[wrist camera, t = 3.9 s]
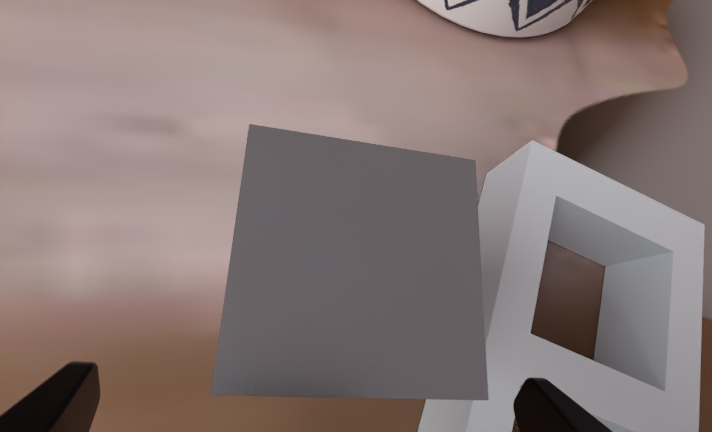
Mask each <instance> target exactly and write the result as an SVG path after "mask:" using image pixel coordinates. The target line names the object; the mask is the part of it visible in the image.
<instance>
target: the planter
mask: <svg viewBox="0 0 712 432" xmlns="http://www.w3.org/2000/svg"><path fill="white" fill-rule="evenodd" d="M417 1H418V2H419V3H421V4H422V5H424V6H425V7H427V8H429V9H430V10H432V11H433V12H435V13H436V14H438V15H440V16H442V17H444V18H446V19H448V20H450V21H452V22H454V23H456V24H458V25H460V26H463V27H466V28H469V29H472V30H475V31H478V32H481V33H486V34H491V35H496V36H501V37H519V38H521V37H530V36H539V35H542V34H546V33H549V32H552V31H555V30H557V29H559V28H561V27H562V26H564V25H566V24H568V23H569V22H570V21H571V20H573V19H574V18H575V17H576V16H577V15H578V14H579V13H580V12H581V11H582V10H583V9H584V8H585V7H586V6H587V5H588V4H589V3H590V2H591V1H592V0H417Z"/></svg>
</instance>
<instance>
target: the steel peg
mask: <svg viewBox="0 0 712 432" xmlns="http://www.w3.org/2000/svg"><path fill="white" fill-rule="evenodd" d="M211 395H239V396H289V397H339V398H388V399H438V400H488V401H489V398H488V380H487V362H486V344H485V327H484V309H483V291H482V273H481V255H480V237H479V219H478V201H477V183H476V165H475V160H469V159H463V158H457V157H451V156H445V155H438V154H432V153H426V152H420V151H413V150H407V149H401V148H395V147H388V146H382V145H376V144H370V143H364V142H357V141H351V140H345V139H339V138H332V137H326V136H320V135H314V134H308V133H301V132H295V131H289V130H283V129H276V128H270V127H264V126H258V125H252V124H249V131H248V138H247V145H246V152H245V159H244V166H243V173H242V180H241V187H240V194H239V201H238V208H237V215H236V222H235V229H234V236H233V243H232V250H231V257H230V264H229V271H228V278H227V285H226V292H225V299H224V306H223V313H222V320H221V327H220V334H219V341H218V348H217V355H216V362H215V369H214V376H213V383H212V390H211Z"/></svg>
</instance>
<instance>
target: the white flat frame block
mask: <svg viewBox="0 0 712 432" xmlns="http://www.w3.org/2000/svg"><path fill="white" fill-rule="evenodd" d="M478 219H479V237H480V255H481V273H482V291H483V309H484V327H485V344H486V362H487V380H488V398H489V401H488V400H438V399H426V402H425V405H424V409H423V413H422V417H421V420H420V424H419V428H418V432H512V429H513V423H514V418H515V414H514V409H513V403H514V399H515V397H516V396H517V394H518V392H519V390H520V388H521V387H522V385H523V383H524V381H525V380H526V379H527V378H530V377H536V378H545V379H547V380H548V381H550V382H551V383H552V384H554V385H555V386H556V387H557V388H559V389H560V390H561V391H562V392H564V393H565V394H566V395H567V396H569V397H570V398H571V399H572V400H574V401H575V402H576V403H577V404H579V405H580V406H581V407H582V408H584V409H585V410H586V411H588V412H589V413H590V414H591V415H593V416H594V417H595V418H596V419H598V420H599V421H600V422H601V423H603V424H604V425H605V426H606V427H608V428H609V429H610V430H611V431H613V432H699V404H700V369H701V334H702V297H703V264H704V262H703V261H704V227H705V225H704V224H702V223H700V222H698V221H696V220H694V219H692V218H690V217H688V216H686V215H684V214H682V213H679V212H678V211H676V210H674V209H671V208H669V207H667V206H665V205H663V204H661V203H659V202H657V201H655V200H653V199H651V198H649V197H647V196H645V195H643V194H641V193H639V192H637V191H635V190H633V189H631V188H629V187H627V186H625V185H623V184H620V183H618V182H616V181H614V180H612V179H610V178H608V177H606V176H604V175H602V174H600V173H598V172H596V171H594V170H592V169H590V168H588V167H586V166H584V165H582V164H580V163H578V162H576V161H574V160H571V159H570V158H568V157H565V156H563V155H561V154H559V153H557V152H555V151H553V150H551V149H549V148H547V147H545V146H543V145H541V144H539V143H537V142H535V141H533V140H532V141H530V142H529V143H528V144H526V145H525V146H523V147H522V148H521V149H519V150H518V151H517V152H515V153H514V154H513V155H511V156H510V157H508V158H507V159H506V160H504V161H503V162H502V163H500V164H499V165H498V166H496V167H495V168H493V169H492V170H491V171H489V172H488V173H487V174H486V178H485V182H484V185H483V189H482V193H481V197H480V200H479V204H478ZM548 240H549V241H551V242H553V243H555V244H557V245H559V246H562V247H564V248H566V249H568V250H570V251H572V252H574V253H577V254H579V255H581V256H583V257H585V258H587V259H590V260H592V261H594V262H596V263H598V264H600V265H603V266H605V274H604V282H603V290H602V298H601V306H600V314H599V322H598V330H597V338H596V346H595V354H594V361H593V360H591V359H589V358H586V357H584V356H582V355H579V354H577V353H575V352H572V351H570V350H568V349H565V348H563V347H561V346H558V345H556V344H554V343H552V342H549V341H547V340H545V339H542V338H540V337H538V336H535V335H533V334H531V327H532V322H533V317H534V311H535V306H536V301H537V295H538V290H539V285H540V279H541V274H542V269H543V263H544V258H545V253H546V247H547V242H548Z"/></svg>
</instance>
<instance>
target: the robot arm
mask: <svg viewBox="0 0 712 432" xmlns="http://www.w3.org/2000/svg"><path fill="white" fill-rule="evenodd" d="M99 399H100V384H99V375H98V367H97V364H96V363H95V362H87V361H72V362H70V363H68V364H66V365H65V366H64V367H62V368H61V369H60V370H58V371H57V372H56V373H55V374H53V375H52V376H51V377H49V378H48V379H47V380H45V381H44V382H43V383H42V384H40V385H39V386H38V387H36V388H35V389H34V390H33V391H31V392H30V393H29V394H27V395H26V396H25V397H23V398H22V399H21V400H20V401H18V402H17V403H16V404H14V405H13V406H12V407H11V408H9V409H8V410H7V411H5V412H4V413H3V414H1V415H0V432H89V430H90V427H91V424H92V421H93V418H94V416H95V413H96V410H97V407H98V404H99ZM513 409H514V414H515V417H516V421H517V424H518V427H519V431H520V432H613V431H611V430H610V429H609V428H608V427H606V426H605V425H604V424H603V423H601V422H600V421H599V420H598V419H596V418H595V417H594V416H593V415H591V414H590V413H589V412H588V411H586V410H585V409H584V408H582V407H581V406H580V405H579V404H577V403H576V402H575V401H574V400H572V399H571V398H570V397H569V396H567V395H566V394H565V393H564V392H562V391H561V390H560V389H559V388H557V387H556V386H555V385H554V384H552V383H551V382H550V381H548V380H547V379H545V378H536V377H530V378H527V379H526V380H525V381H524V383H523V385H522V387H521V388H520V390H519V392H518V394H517V396H516V397H515V399H514V403H513Z"/></svg>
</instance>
